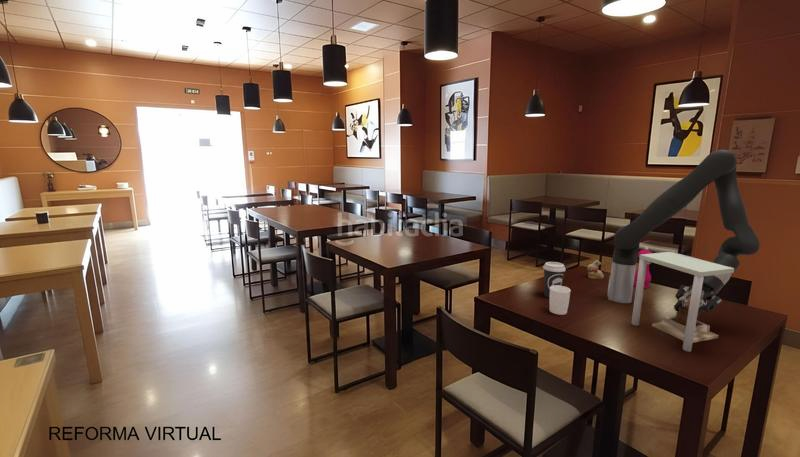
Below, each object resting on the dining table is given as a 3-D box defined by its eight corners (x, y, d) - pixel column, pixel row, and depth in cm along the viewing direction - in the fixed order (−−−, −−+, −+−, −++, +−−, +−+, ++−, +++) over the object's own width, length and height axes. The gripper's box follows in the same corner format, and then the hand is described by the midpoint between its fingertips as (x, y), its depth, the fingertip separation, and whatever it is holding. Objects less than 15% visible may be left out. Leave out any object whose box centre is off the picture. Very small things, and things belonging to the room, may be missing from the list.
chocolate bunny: (587, 274, 205) (589, 257, 203) (603, 277, 201) (606, 259, 199) (586, 277, 200) (588, 259, 199) (602, 280, 196) (604, 261, 194)
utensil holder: (672, 325, 140) (676, 294, 138) (678, 321, 144) (682, 290, 142) (691, 331, 136) (696, 299, 133) (697, 326, 139) (702, 295, 137)
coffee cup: (564, 294, 177) (567, 263, 174) (560, 301, 169) (563, 268, 166) (543, 290, 182) (545, 260, 179) (538, 296, 174) (541, 265, 171)
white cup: (566, 317, 152) (568, 293, 150) (546, 312, 156) (548, 289, 154) (569, 310, 159) (572, 287, 157) (549, 306, 163) (551, 284, 161)
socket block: (679, 321, 149) (681, 311, 148) (718, 337, 136) (720, 327, 135) (652, 326, 145) (653, 316, 144) (688, 343, 132) (690, 332, 131)
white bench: (659, 318, 151) (669, 251, 146) (720, 345, 130) (735, 268, 125) (629, 323, 147) (638, 254, 142) (687, 352, 126) (701, 272, 120)
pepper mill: (652, 289, 183) (658, 249, 179) (636, 288, 185) (641, 248, 181) (646, 284, 190) (651, 245, 186) (630, 283, 192) (635, 244, 188)
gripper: (688, 266, 145) (660, 300, 144) (730, 278, 131) (699, 315, 130) (697, 278, 147) (669, 311, 146) (738, 291, 134) (708, 327, 133)
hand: (683, 313), depth 138 cm, fingers closed on utensil holder, 5 cm apart
